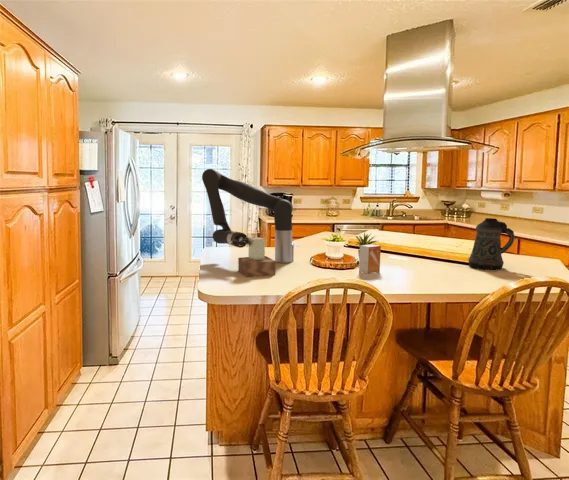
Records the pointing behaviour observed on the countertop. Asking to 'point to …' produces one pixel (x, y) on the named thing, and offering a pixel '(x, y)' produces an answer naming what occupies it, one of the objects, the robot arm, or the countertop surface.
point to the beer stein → (489, 245)
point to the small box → (369, 258)
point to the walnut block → (256, 267)
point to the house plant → (364, 242)
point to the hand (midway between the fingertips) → (253, 243)
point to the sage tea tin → (256, 249)
